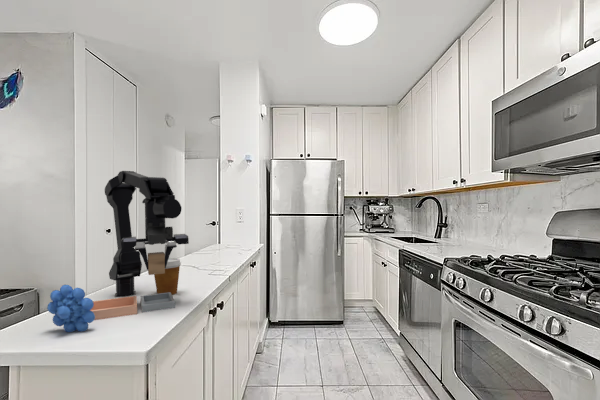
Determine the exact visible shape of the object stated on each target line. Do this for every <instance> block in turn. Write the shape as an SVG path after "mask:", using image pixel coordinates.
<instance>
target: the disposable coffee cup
mask: <svg viewBox="0 0 600 400" xmlns="http://www.w3.org/2000/svg"><path fill="white" fill-rule="evenodd" d="M181 264H182V261H181V260H180V258H177V257H176V258H175V257H174V258H171V257H169V259H168V262H167V265H166V268H165V273H164V274H154V275H153V277H154V281H155V288H156V289H155V290H156V294H160V293H168V292H171V294H172V296H173V295H177V294H178V286H179V285H178V284H179V277H180V267H181Z"/></svg>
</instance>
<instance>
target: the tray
mask: <svg viewBox="0 0 600 400" xmlns="http://www.w3.org/2000/svg"><path fill="white" fill-rule="evenodd" d="M140 307H141V309H140V310H141V313H148V312H154V311H162V310H168V309H175V308H176V301H175V298H174V296H173V295H172V294H171V292H168V293H160V294H157V293H154V294H147V295H140Z"/></svg>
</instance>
